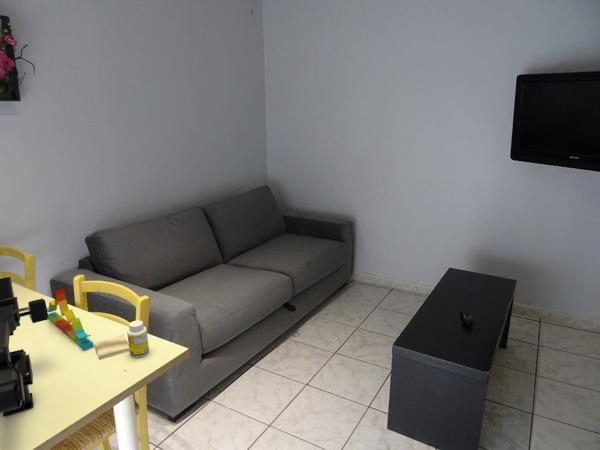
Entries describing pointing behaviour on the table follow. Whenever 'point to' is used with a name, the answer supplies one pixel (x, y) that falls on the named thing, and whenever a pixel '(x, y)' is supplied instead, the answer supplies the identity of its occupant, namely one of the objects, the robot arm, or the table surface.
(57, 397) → the table surface
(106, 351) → the wooden pad
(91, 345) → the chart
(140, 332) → the supplement bottle
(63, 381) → the table surface
